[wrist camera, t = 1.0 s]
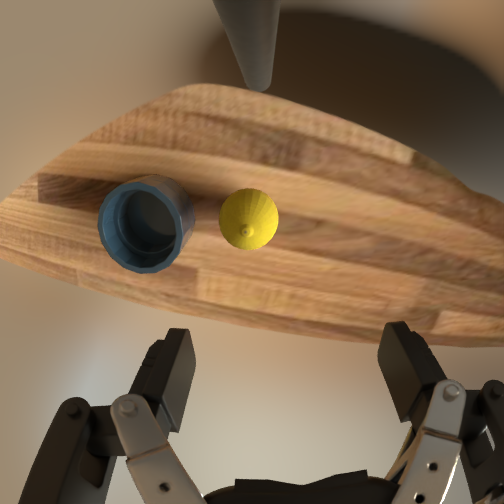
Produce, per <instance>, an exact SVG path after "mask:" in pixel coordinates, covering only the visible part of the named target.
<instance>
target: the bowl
mask: <svg viewBox="0 0 504 504" xmlns="http://www.w3.org/2000/svg"><path fill="white" fill-rule="evenodd" d="M194 223H195V216H194V209H193V204H192V202H191V200H190V198H189V197H188V195H187V193H186V191H185V190H184V189H183V188H182V187H181V186H180V185H178V184H177V183H176V182H175V181H174V180H172V179H171V178H168V177H164V176H161V175H157V174H153V175H147V176H141V177H138V178H136V179H133V180H131V181H128V182H126V183H123V184H121V185H119V186H118V187H116V188H115V189H114V190H112V191H111V192H110V193H108V194H107V196H106V197H105V199H104V201H103V203H102V205H101V206H100V208H99V216H98V231H99V235H100V239H101V242H102V244H103V246H104V247H105V249H106V251H107V252H108V254H109V255H110V257H111V258H112V259H114V260H115V261H116V262H117V263H118V264H120V265H121V266H122V267H123V268H125V269H128V270H131V271H133V272H136V273H140V274H143V273H157V272H159V271H161V270H163V269H165V268H167V267H169V266H170V265H171V264H172V262H173V261H174V260H175V258H176V257H177V256H178V255H179V253H180V252H181V250H182V249H183V247H184V246H185V244H186V243H187V241H188V240H189V238H190V237H191V235H192V231H193V227H194Z"/></svg>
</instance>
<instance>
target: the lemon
mask: <svg viewBox="0 0 504 504" xmlns="http://www.w3.org/2000/svg"><path fill="white" fill-rule="evenodd" d="M219 225H220V230H221V232H222V234H223V236H224V238H225V239H226V240H227V241H228V242H229V243H230V244H231V245H233V246H234V247H237V248H239V249H244V250H254V249H257V248H260V247H262V246H263V245H265V244H266V243H267V242H268V241H269V240H270V239H271V238H272V237H273V235H274V233H275V232H276V228H277V225H278V212H277V208H276V206H275V204H274V202H273V201H272V199H271V198H270V197H269V196H268V195H267V194H265V193H263V192H262V191H260V190H256V189H249V188H246V189H241V190H238V191H236V192H234V193H232V194H231V195H230V196H229V197H228V198H227V199H226V200H225V202H224V203H223V205H222V207H221V210H220V213H219Z"/></svg>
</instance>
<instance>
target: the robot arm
mask: <svg viewBox="0 0 504 504" xmlns="http://www.w3.org/2000/svg"><path fill="white" fill-rule="evenodd" d="M378 363H379V366H380V368H381V371H382V373H383V376H384V379H385V381H386V384H387V386H388V389H389V391H390V394H391V397H392V400H393V402H394V405H395V408H396V411H397V413H398V416H399V419H400V422H401V423H402V422H406V421H411V423H412V426H411V427H410V430H409V432H408V434H407V437H406V439H405V441H404V443H403V446H402V448H401V450H400V452H399V454H398V456H397V459H396V461H395V463H394V464H393V466H392V468H391V469H390V471H389V472H388V474H387V475H386V477H385V478H384V479H383V478H379V477H372V476H368V475H367V470H361V471H355V472H349V473H343V474H336V475H334V476H331V477H328V478H325V479H322V480H319V481H316V482H313V483H310V484H306V485H297V484H290V483H284V482H279V481H273V480H258V479H235V485H234V486H228V487H225V488H221V489H218V490H216V491H213V492H211V493H209V494H207V495H205V496H204V497H203V495H202V494H201V492H200V491H199V490H198V488H197V487H196V485H195V484H194V482H193V481H192V480H191V478H190V476H189V475H188V473H187V472H186V470H185V469H184V467H183V466H182V464H181V462H180V461H179V459H178V457H177V456H176V454H175V452H174V451H173V449H172V447H171V446H170V444H169V442H168V441H167V439H168V435H169V432H177V433H179V429H180V425H181V422H182V418H183V414H184V410H185V406H186V402H187V398H188V395H189V391H190V387H191V383H192V379H193V376H194V372H195V367H196V358H195V353H194V348H193V344H192V340H191V335H190V331H189V329H179V328H170V329H169V331H168V333H167V335H166V337H165V340H157V341H156V342H155V343H154V344H153V345H152V346H151V347H149V350H148V352H147V354H146V356H145V358H144V360H143V362H142V366H140V369H139V371H138V373H137V375H136V377H135V380H134V382H133V384H132V386H131V389H130V391H129V393H128V394H126V395H122V396H120V397H119V398H117V399H116V400H115V401H114V402H113V403H112V405H108V406H93V407H91V406H90V405H89V404H88V402H87V401H86V400H85V399H83V398H80V397H73V398H70V399H67V400H66V401H64V402H63V403H62V404H61V405H60V407H59V409H58V411H57V413H56V415H55V417H54V419H53V421H52V423H51V425H50V427H49V429H48V431H47V434H46V436H45V438H44V440H43V442H42V445H41V447H40V449H39V451H38V454H37V456H36V458H35V461H34V463H33V465H32V468H31V470H30V473H29V476H28V478H27V481H26V483H25V486H24V489H23V491H22V494H21V497H20V500H19V503H18V504H105V500H106V496H107V492H108V488H109V485H110V481H111V477H112V473H113V470H114V466H115V463H116V459H117V456H127V460H126V464H127V467H128V470H129V472H130V474H131V476H132V478H133V481H134V483H135V485H136V487H137V489H138V491H139V493H140V495H141V497H142V499H143V500H144V503H145V504H442V503H443V500H444V498H445V495H446V493H447V490H448V487H449V485H450V482H451V479H452V476H453V473H454V470H455V467H456V464H457V461H458V457H459V455H460V459H461V462H462V465H463V469H464V472H465V475H466V479H467V483H468V486H469V490H470V494H471V498H472V503H473V504H504V384H503V383H502V382H500V381H498V380H490V381H488V382H486V383H485V384H484V386H483V388H482V389H481V390H465V389H464V387H463V386H462V385H461V384H460V383H459V382H457V381H455V380H451V379H447V377H446V375H445V374H444V372H443V370H442V368H441V367H440V365H439V363H438V361H437V360H436V358H435V356H434V355H433V354H432V351H431V350H430V348H428V345H427V343H426V342H425V340H424V338H423V337H421V336H420V335H419V334H417V333H416V332H415V331H412V332H411V331H410V329H409V328H408V326H407V324H406V323H405V322H404V321H397V322H388V323H386V325H385V327H384V331H383V334H382V338H381V342H380V345H379V349H378ZM487 427H488V429H489V431H490V433H491V436H492V438H493V441H494V444H495V449H494V451H493V449H492V446H491V443H490V441H489V438H488V436H487V434H486V431H485V429H486V428H487Z"/></svg>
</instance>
